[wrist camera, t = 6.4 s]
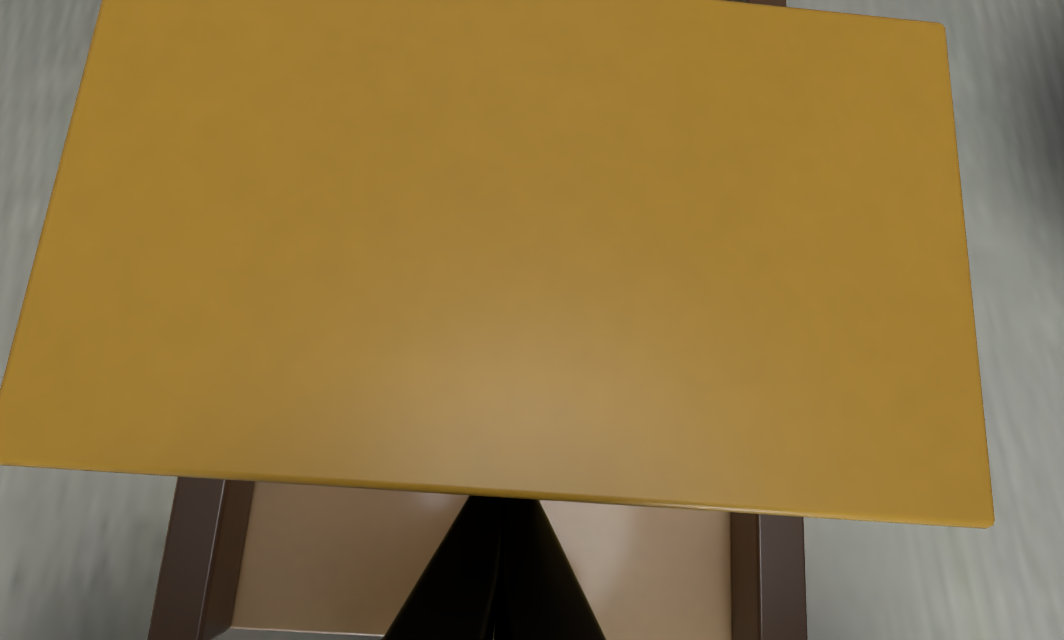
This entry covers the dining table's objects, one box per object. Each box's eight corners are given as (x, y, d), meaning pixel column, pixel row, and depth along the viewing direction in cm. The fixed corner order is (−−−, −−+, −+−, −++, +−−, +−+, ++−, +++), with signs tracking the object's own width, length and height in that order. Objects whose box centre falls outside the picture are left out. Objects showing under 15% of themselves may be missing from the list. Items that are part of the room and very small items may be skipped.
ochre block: (719, 494, 14) (1001, 530, 6) (268, 465, 14) (-25, 464, 6) (718, 244, 16) (947, 20, 8) (309, 209, 15) (114, -67, 7)
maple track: (782, 644, 15) (845, 683, 12) (176, 611, 14) (104, 644, 12) (764, -99, 20) (805, -186, 17) (314, -149, 19) (286, -247, 16)
